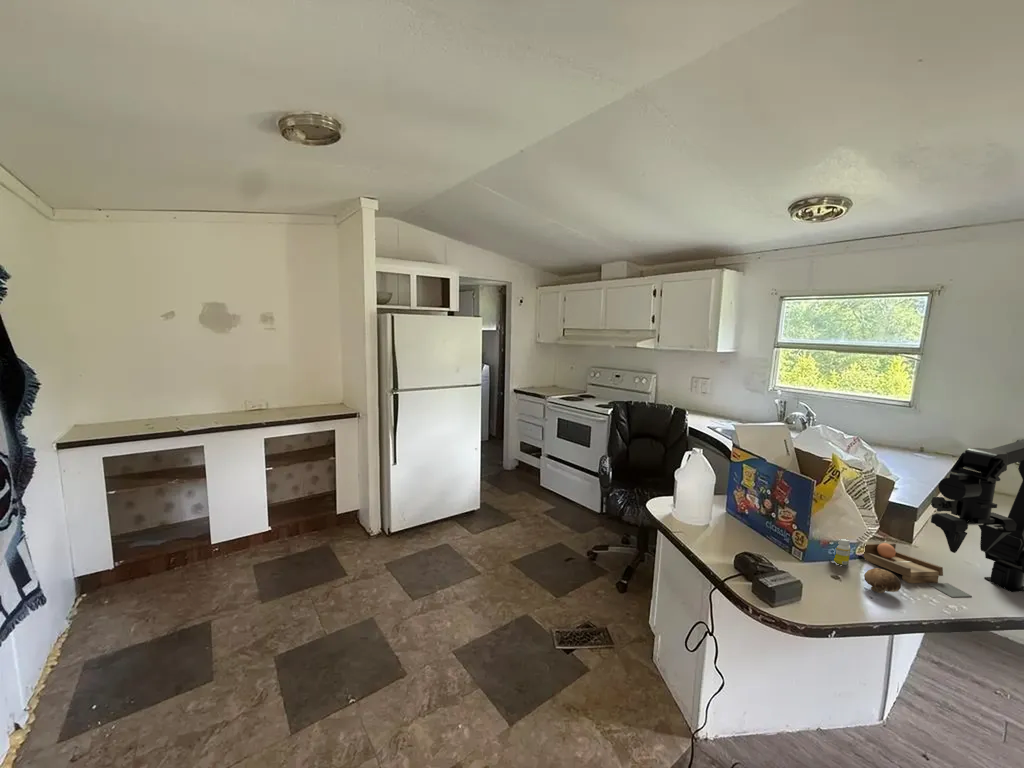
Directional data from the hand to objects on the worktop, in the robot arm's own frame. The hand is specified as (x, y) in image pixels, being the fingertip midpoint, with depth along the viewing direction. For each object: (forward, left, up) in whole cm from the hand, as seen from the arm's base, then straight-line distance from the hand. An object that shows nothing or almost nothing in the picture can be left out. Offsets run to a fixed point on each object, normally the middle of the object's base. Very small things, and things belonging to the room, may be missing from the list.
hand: (968, 551), depth 116 cm
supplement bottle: (+22, -16, -12) cm, 30 cm away
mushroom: (+23, -1, -12) cm, 26 cm away
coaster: (+2, -1, -12) cm, 12 cm away
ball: (+6, -19, -8) cm, 21 cm away
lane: (+6, -12, -12) cm, 18 cm away
